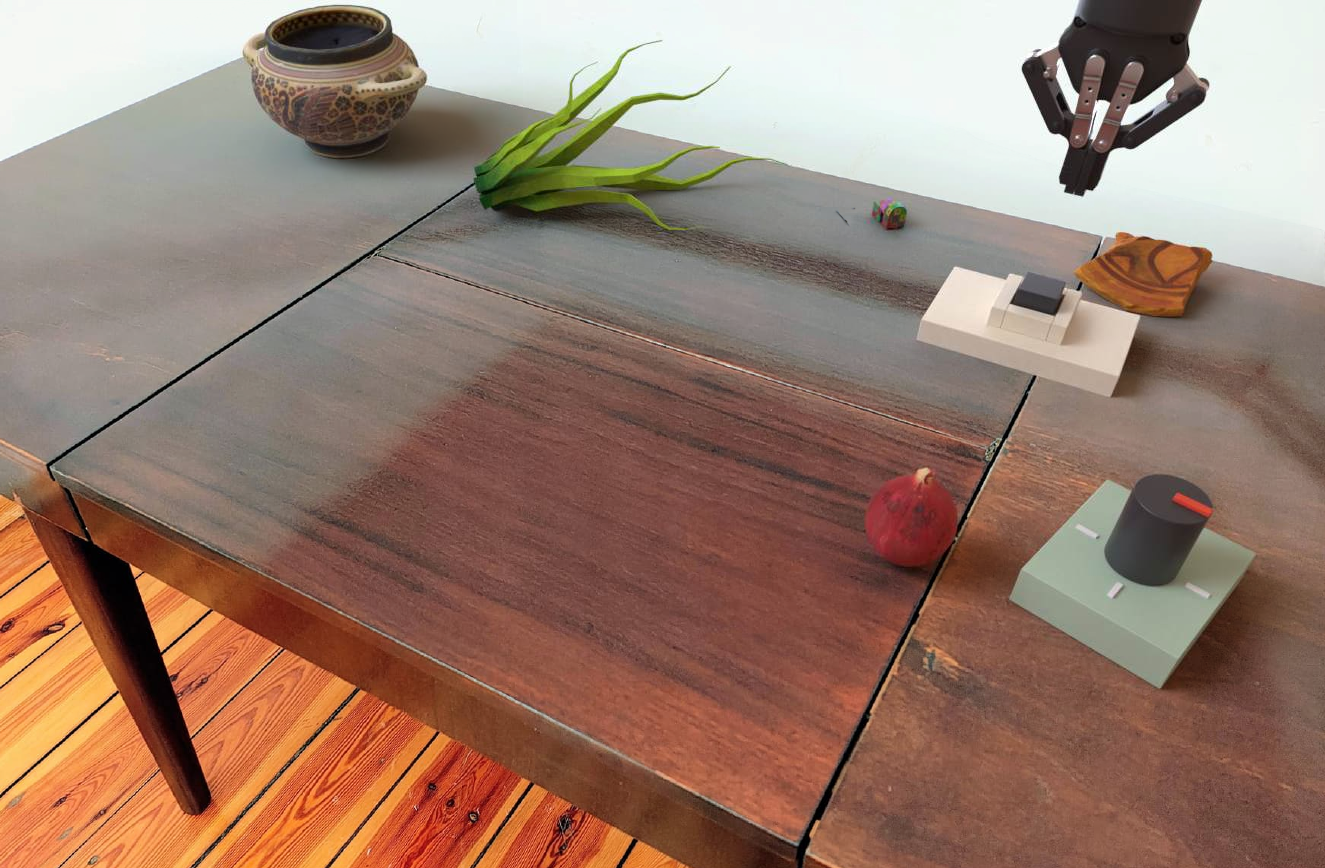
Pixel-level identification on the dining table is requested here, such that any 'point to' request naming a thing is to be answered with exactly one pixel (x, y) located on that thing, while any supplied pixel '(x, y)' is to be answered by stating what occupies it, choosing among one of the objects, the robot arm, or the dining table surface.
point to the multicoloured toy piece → (890, 213)
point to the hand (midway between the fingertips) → (1075, 190)
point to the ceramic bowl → (334, 77)
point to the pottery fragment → (1146, 274)
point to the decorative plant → (537, 178)
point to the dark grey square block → (1039, 293)
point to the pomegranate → (911, 519)
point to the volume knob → (1157, 529)
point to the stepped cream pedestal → (1030, 331)
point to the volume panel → (1127, 591)
